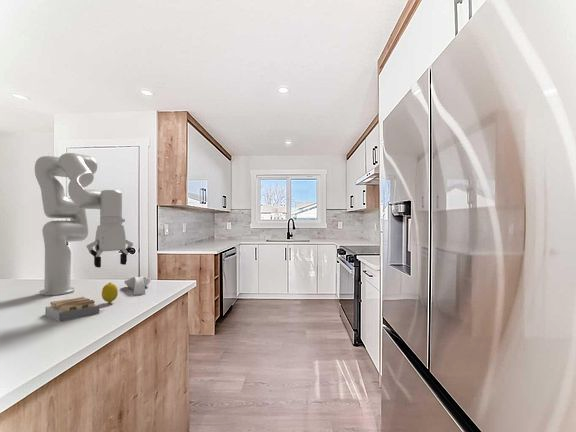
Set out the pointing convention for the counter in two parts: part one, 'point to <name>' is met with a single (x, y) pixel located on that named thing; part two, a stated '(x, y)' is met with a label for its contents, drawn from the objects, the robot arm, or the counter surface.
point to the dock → (71, 312)
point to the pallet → (72, 304)
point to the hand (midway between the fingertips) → (110, 265)
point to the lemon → (109, 292)
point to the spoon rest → (138, 284)
